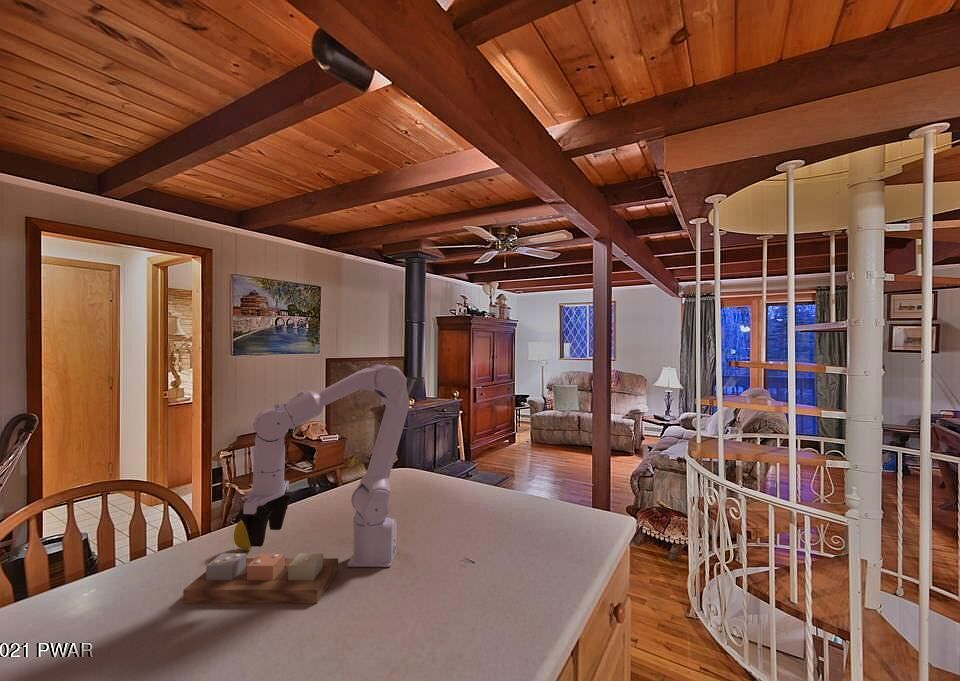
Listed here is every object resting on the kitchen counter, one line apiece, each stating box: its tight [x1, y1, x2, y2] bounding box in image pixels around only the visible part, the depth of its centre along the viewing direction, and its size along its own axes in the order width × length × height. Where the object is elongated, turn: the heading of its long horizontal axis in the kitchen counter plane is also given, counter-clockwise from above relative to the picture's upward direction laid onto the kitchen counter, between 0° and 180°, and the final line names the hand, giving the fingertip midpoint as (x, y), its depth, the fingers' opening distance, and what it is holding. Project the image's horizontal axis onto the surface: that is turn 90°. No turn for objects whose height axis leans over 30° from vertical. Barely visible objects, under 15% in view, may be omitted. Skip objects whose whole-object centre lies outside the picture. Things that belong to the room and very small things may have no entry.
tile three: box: [205, 552, 247, 580], centre depth 86 cm, size 5×5×4 cm
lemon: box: [233, 519, 253, 551], centre depth 100 cm, size 6×6×8 cm
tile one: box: [288, 552, 324, 581], centre depth 86 cm, size 5×5×4 cm
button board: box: [182, 557, 339, 604], centre depth 85 cm, size 25×12×2 cm, turn 90°
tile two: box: [247, 552, 286, 581], centre depth 86 cm, size 5×5×4 cm
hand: (266, 537), depth 86 cm, fingers open, 7 cm apart
